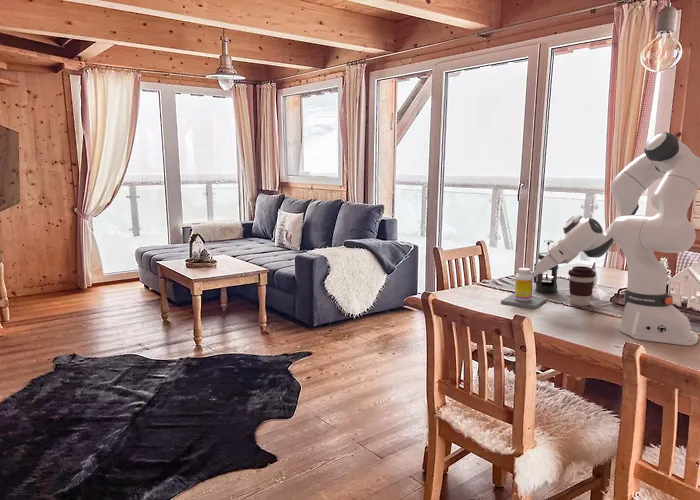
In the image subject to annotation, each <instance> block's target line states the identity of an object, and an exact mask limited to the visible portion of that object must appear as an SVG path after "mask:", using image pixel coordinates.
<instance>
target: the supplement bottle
mask: <svg viewBox="0 0 700 500" xmlns="http://www.w3.org/2000/svg"><path fill="white" fill-rule="evenodd" d="M517 270H518V271H517V272H518V274H516V275H515V283H514V294H515V299H516V300H519V301H530V300H531V299H532V297H533V280H534V278H533V277H532V276H531V275H530V274H531V268H528V267H519V268H518V269H517Z"/></svg>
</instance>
